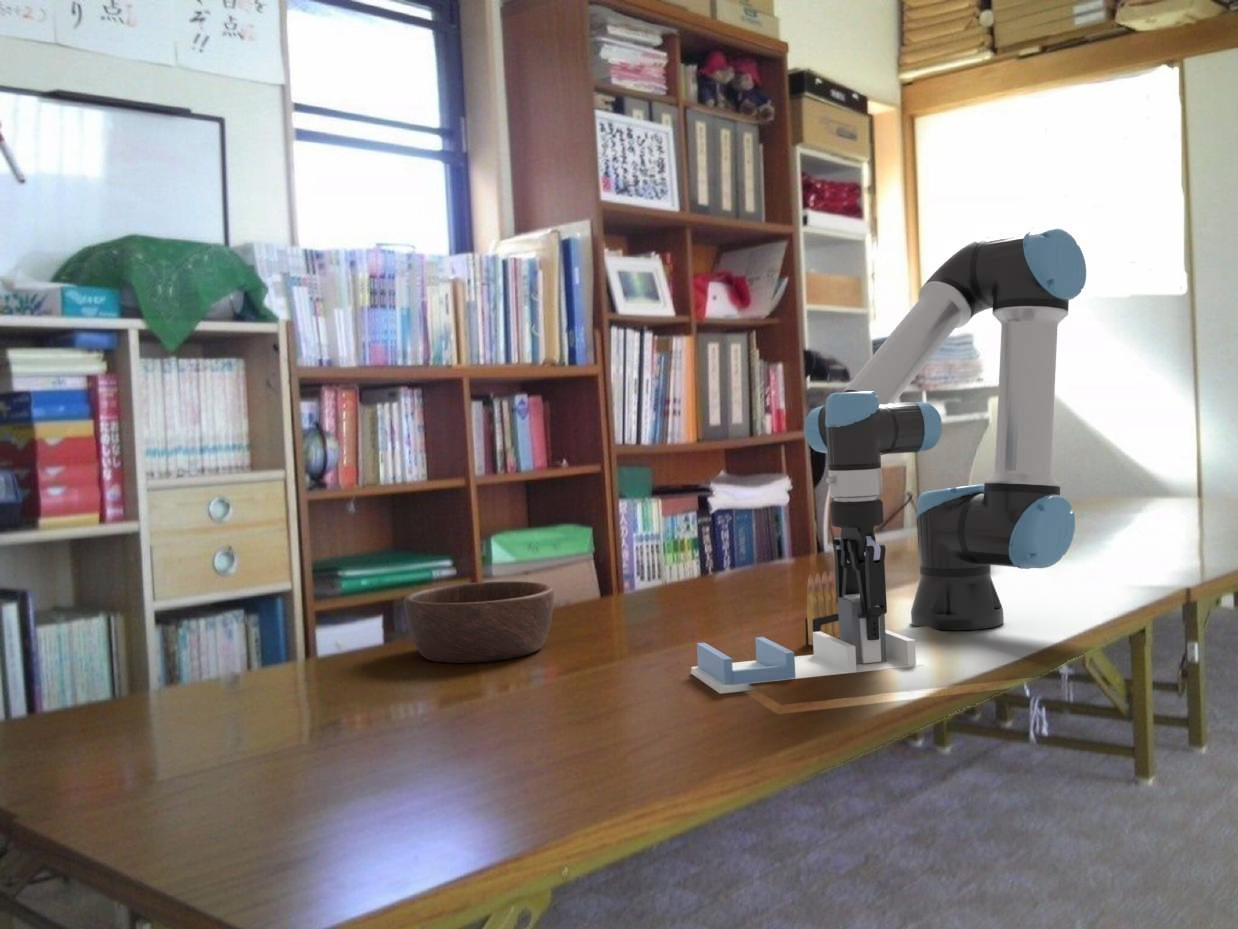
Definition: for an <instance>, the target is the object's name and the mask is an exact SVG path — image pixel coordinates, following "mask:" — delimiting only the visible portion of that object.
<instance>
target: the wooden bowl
mask: <svg viewBox="0 0 1238 929" xmlns="http://www.w3.org/2000/svg"><path fill="white" fill-rule="evenodd" d="M554 595H555V591H554V588H553V587H552V586H551V585H549V584H548V583H542V582H535V581H518V580H517V581H512V580H511V581H510V580H509V581H507V580H506V581H483V582H469V583H467V582H466V583H459V584H449V585H443V586H437V587H436V586H435V587H431V588H425V589H422V590H417V591H414V592H411V593H409V594H407V595H405V597H404V599H403V608H404V613H405V618H406V623H407V627H408V630H409V634H410V637H411V639H412V642H413V644H414V646H415V648H416V649H417V651H418V652H419V654H420V655H421V656H422V657H423V658H424V659H426V660H429V661H433V662H438V663H447V664H449V663H450V664H451V663H452V664H472V663H487V662H488V663H489V662H498V661H504V660H511V659H515V658H516V659H517V658H521V657H525V656H528V655H530V654H533V653H536V652H537V651H539V650H540V649H541V648H542V647H543V646H544V643H545V642H546V640H547V637H548V635H549V632H550V629H551V625H552V620H553V619H552V618H553V611H554V598H555V596H554Z"/></svg>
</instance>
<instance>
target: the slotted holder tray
mask: <svg viewBox="0 0 1238 929" xmlns="http://www.w3.org/2000/svg"><path fill="white" fill-rule="evenodd" d="M885 633H886V655H887V662H877V663H867V664H858V665H856V651H855V646H853V645H851V644H849V643H846V642H844V641H842V640H840V639H837V638H835V637H832V636H830V635H828V634H825V633H823V632H821V631H819V632H813V645H812V647H813V648H812V649H813V654H807V655H797V656H795V652H794V651H793V650H790V649H788V648H787V647H784V646H783V645H781V644H779V643H776V642H774V641H772V640H770V639H768V638H766V637H764V636H759V637H755V656H756V658H755V659H756V660H748V661H738V662H737V661H736V662H733V658H732V657H730V656H728V655H726V654H725V653H723V652H721V651H719V650H718V649H716V648H715V647H713V646H711V645H710V644H708V643H706V642H696V654H697V666H691V668H690V670H691V671H690V672H691V675H693V676H694V677H695V678H696V679H699V681H701V682H703V683H704V684H705V685H707V686H708V687H710V688H712V689H713V690H714V691H715V692H717V693H718V694H729V693H738V692H748V691H750V692H751V691H756V690H757V689H756V687H753V686H752V685H751V684H758V683H767V682H769V683H770V682H777V681H778V682H779V681H787V680H795V679H796V680H797V679H806V678H813V677H814V678H816V677H825V676H833V675H836V676H837V675H843V674H854V673H862V672H864V673H865V672H873V671H882V670H892V669H902V668H909V667H910V668H911V667H919V666H923V664H922V663H920V662H918V661H917V659H916V658H917V655H916V654H917V653H916V639H913V638H910V637H908V636H904V635H902V634H899V633H896V632H894V631H891V630H888V629H886V628H885Z"/></svg>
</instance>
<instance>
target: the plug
mask: <svg viewBox="0 0 1238 929" xmlns="http://www.w3.org/2000/svg"><path fill="white" fill-rule="evenodd" d="M838 614H839V635H840V639H839V640H842V641H844V642H846V643H849V644H851V645H853V646H855V651H856V665H858V664H867V663H862V659H861V637H860V618H858V614H862V608H861V601H860V594H851V595H844V597H839V598H838ZM879 620H880V642H881V662H887V655H886V633H885V629H886V617H885V614H882V615H881V616H880V617H879ZM872 663H877V662H872Z"/></svg>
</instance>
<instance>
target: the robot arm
mask: <svg viewBox="0 0 1238 929" xmlns="http://www.w3.org/2000/svg"><path fill="white" fill-rule="evenodd" d="M1086 280H1087V265H1086V260H1085V256H1084V254H1083V251H1082V249H1081V247H1080V245H1079V244H1078V243H1077V241H1076V239H1075V238H1074V237H1073V236H1072V235H1071V234H1070V233H1069V232H1068V231H1066V230H1064V229H1062V228H1059V227H1054V226H1053V227H1045V228H1044V227H1042V228H1037V227H1036V228H1035V227H1034V228H1033V227H1032V228H1030V229H1028V230H1024V231H1018V232H1014V233H1009V234H1008V233H1007V234H1002V235H998V236H991V237H985V238H980V239H977V240H976V241H973V242H971V243H968V244H967V245H965V246H963V247H962V248H960V249H959V250H958V251H957V252H955V253H954V254H953V255H952V256H951V257H949V258H948V259H947V260H946V261H945V262H944V263H942V265H940V266H939V267H938V269H937V270H936V271H934V273H933V274H932V275H931V276H930V277H929V278H928V280H927V281H926V282H925V283H924V284H923V285H922V286H921V288H920V290H919V291H918V301H916V303H915V304H914V305H913V307H912V308H911V309H910V310H909V311H908V313H907V314H906V315H905V316H904V317H903V319H902V320H901V321H900V322H899V323H898V325H897V326H896V327H895V328H894V330H893V331H892V332H891V333H890V334H889V335H888V337H887V338H886V339H885V340H884V342H883V343H882V344H881V345H880V346H879V348H878V349H877V350H876V351H875V352H874V353H873V355H872V356H871V357H870V358H869V360H868V361H867V362H866V363H865V365H863V367H862V368H861V369H860V370H859V372H857V374H856V375H855V376H854V377H853V379H851V381H850V382H849V384H848V385H847V386H846V387H845V388H844V389H843V391H842V392H834V393H833V392H832V393H830V394H829V395H828V396H827V398H826V399H825V400H826V401H825V404H823V405H822V406H818V407H816V408H815V407H814V408H813V409H812V410H811V411H810V412H809V413H808V414H807V416H806V418H805V421H804V426H803V432H804V437H805V440H806V442H807V443H808V445H809V447H811V448H812V449H813V450H814V451H816V452H817V453H823V454H827V464H828V465H827V468H828V477H827V478H826V481H825V482H826V483H827V484H829V488H828V489H829V496H830V497H831V498H833V500H831V501H830V503H829V511H830V517H829V518H830V524H831V526H833V527H834V528H841V530H840V537H835V538H832V541H831V542H832V548H833V552H834V571H835V573H834V576H835V579H836V601H837V604H838V598H839V597H844V595H851V594H860V601H861V608H862V614H858V618H860V637H861V659H862V663H872V662H881V642H880V620H879V617H880V616H881V615H882V614H887V612H888V605H887V589H886V588H887V587H886V586H887V584H886V583H887V582H886V568H885V560H886V545H885V544H877V540H876V535H875V529H874V528H875V527H877V526H878V527H879V526H881V525H883V523H884V504H883V502H884V501H882V499H880V498H879V496H882V494H883V474H882V472H883V471H882V456H883V455H894V454H895V455H896V454H899V455H900V454H908V453H909V454H910V453H911V454H913V453H914V454H918V453H920V452H923V451H924V452H925V451H929V450H931V449H933V448H934V447H935V446H936V445H937V444H938V443H939V441H940V439H941V438H942V437H941V436H942V434H943V429H942V427H943V423H942V418H941V415H940V413H939V411H938V410H937V409H936V408H935V406H933V405H932V404H930V403H929V402H924V401H915V400H913V401H906V402H903V401H902V402H896V401H897V400H898V399H900V397H901V396H902V394H903V393H904V392H905V391H906V389H907V388H908V387H909V386H910V384H911V383H912V382H913V381H914V379H915V378H916V377H917V376H918V374H919V373H920V372H921V371H922V370H923V368H924V367H925V366H926V365H927V363H928V362H929V361H930V360H931V359H932V357H933V356H935V353H936V352H937V351H938V350H939V349H940V347H942V345H943V344H944V343H945V341H946V340H947V339H948V338H949V336H950V335H951V334H952V333H953V331H955V329H959V328H962V327H964V326H966V324H968V323H969V321H970V320H971V319H972V318H973V317H974V316H976V315H977V314H978V313H981V312H983V311H985V310H989V309H992V312H991V313H992V316H994V318H995V319H996V320H998V321H999V323H1000V326H1001V330H1000V331H1001V332H1000V349H999V350H1000V352H999V372H998V374H999V375H998V394H997V396H998V398H997V412H996V413H997V418H996V419H997V420H996V435H995V436H996V437H995V438H996V439H995V458H994V459H995V461H994V472H993V473H992V474H990V476H989V477H987V478H986V479H985V481H984V484H983V483H982V484H975V485H974V484H973V485H965V486H958V487H950V488H949V487H948V488H944V489H943V488H942V489H935V490H929V491H923V492H922V493H921V494H920V495H919V496H918V498H917V500H916V503H917V505H916V506H917V508H916V515H915V516H916V517H915V519H916V527H917V528H916V531H917V532H916V533H917V546H918V548H917V549H918V563H919V582H918V585H917V589H916V593H915V595H914V598H913V603H912V605H911V606H912V607H911V610H910V618H911V625H913V626H914V627H918V628H925V627H927V628H930V629H933V630H941V631H971V630H982V629H983V630H984V629H991V628H995V627H999V626H1001V625H1003V624H1004V618H1005V616H1004V608H1003V606H1002V603H1001V600H1000V597H999V594H998V592H997V589H996V587H995V584H994V582H993V579H992V573H991V570H992V569H991V568H992V567H991V566H998V567H999V566H1001V567H1008V568H1009V567H1010V568H1012V567H1013V568H1017V569H1022V570H1028V569H1029V570H1030V569H1046V568H1050V567H1053V565H1055V564H1057V563H1058V562H1060V561H1061V560H1062V558H1063V556H1065V555H1066V553H1067V552H1068V551H1069V549H1070V546H1071V545H1072V542H1073V540H1074V536H1075V530H1076V515H1075V512H1074V511H1073V510H1072V509H1073V508H1072V507H1073V506H1072V505H1071V503H1070V502H1069V501H1068V500H1067V499H1066V498H1064V497H1063V496H1061V484H1060V482H1058V481H1057V480H1056V478H1055V477H1053V475H1052V458H1053V456H1052V454H1053V431H1054V414H1055V411H1054V410H1055V394H1056V393H1055V392H1056V391H1055V389H1056V371H1057V370H1056V369H1057V368H1056V367H1057V364H1056V363H1057V347H1058V327H1059V324H1060V323H1061V321H1063V320H1064V319H1065V318H1066V317H1067V316H1068V315H1069V306H1070V305H1069V303H1070V302H1069V301H1071V300H1074V299H1075V298H1076V297H1078V296H1079V295H1080V293H1082V290H1083V289H1084V287H1085V285H1086Z"/></svg>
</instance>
